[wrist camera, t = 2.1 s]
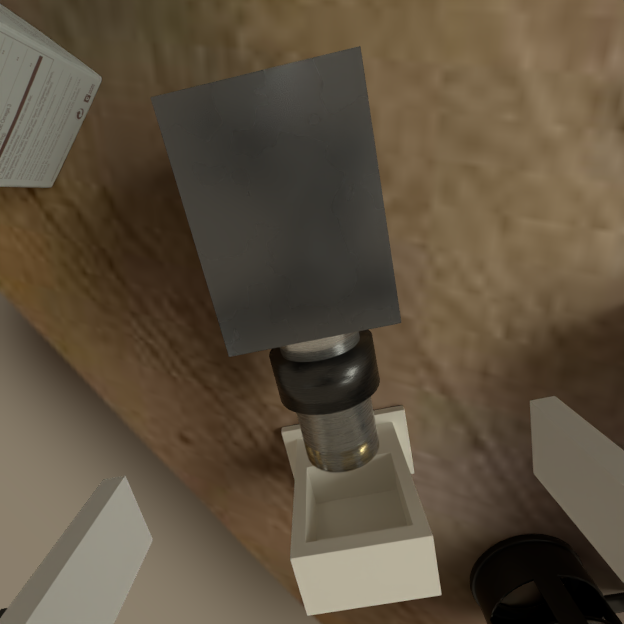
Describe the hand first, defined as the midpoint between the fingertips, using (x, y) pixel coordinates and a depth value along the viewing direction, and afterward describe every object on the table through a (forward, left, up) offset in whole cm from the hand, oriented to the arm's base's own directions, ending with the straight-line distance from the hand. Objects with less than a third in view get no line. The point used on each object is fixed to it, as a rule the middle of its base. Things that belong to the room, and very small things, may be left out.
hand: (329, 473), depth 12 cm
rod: (-3, 0, -10) cm, 10 cm away
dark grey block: (-8, 0, -14) cm, 16 cm away
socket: (+10, 0, -14) cm, 17 cm away
